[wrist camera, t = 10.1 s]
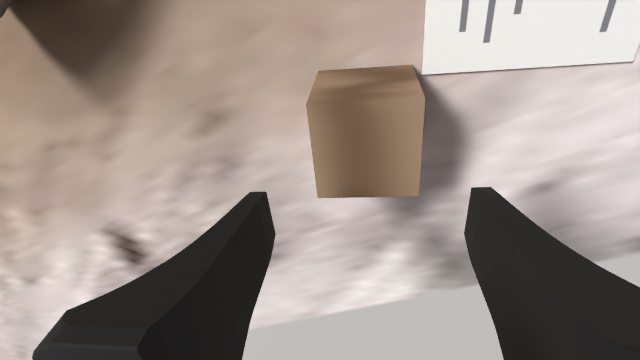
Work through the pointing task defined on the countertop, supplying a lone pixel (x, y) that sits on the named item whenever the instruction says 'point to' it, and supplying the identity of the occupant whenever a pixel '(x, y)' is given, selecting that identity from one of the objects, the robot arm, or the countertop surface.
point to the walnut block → (367, 132)
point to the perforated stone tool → (4, 6)
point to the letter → (527, 34)
